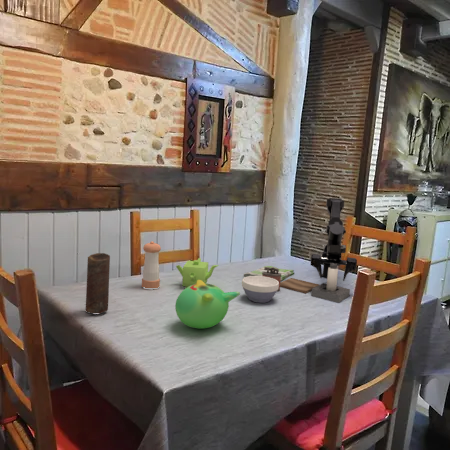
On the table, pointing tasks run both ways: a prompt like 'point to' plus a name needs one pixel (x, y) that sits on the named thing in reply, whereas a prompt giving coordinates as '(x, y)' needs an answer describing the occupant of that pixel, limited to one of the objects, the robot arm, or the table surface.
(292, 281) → the board
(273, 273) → the lighter
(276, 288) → the bowl
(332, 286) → the white bottle
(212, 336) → the table surface
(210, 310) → the toy bird
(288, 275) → the dish towel
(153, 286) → the pepper shaker
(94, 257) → the candle
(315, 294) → the housing
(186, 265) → the kettle
